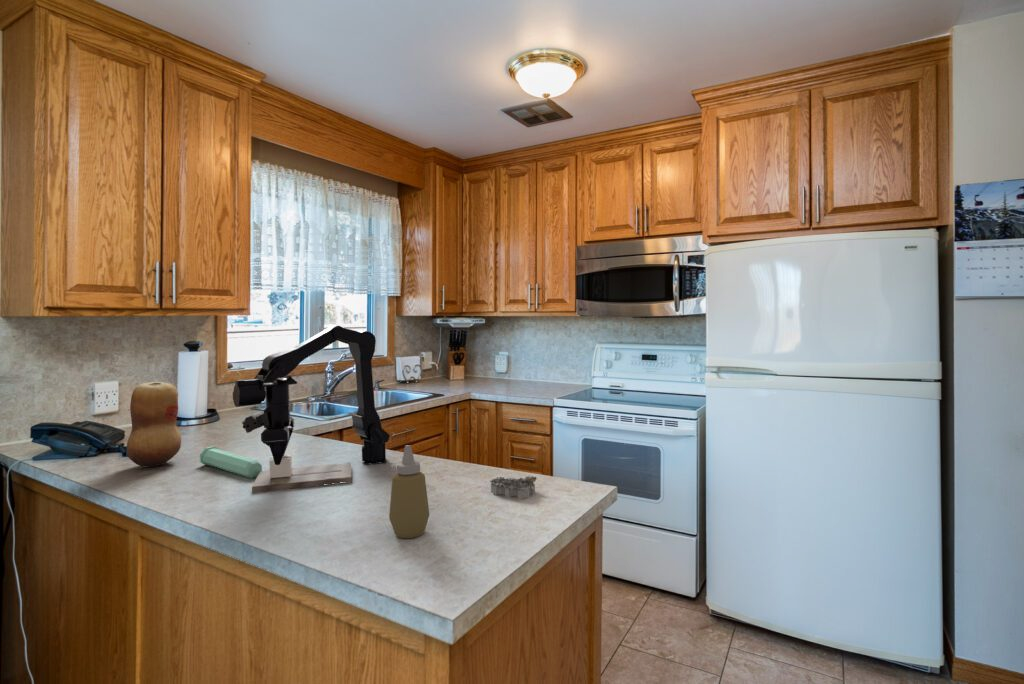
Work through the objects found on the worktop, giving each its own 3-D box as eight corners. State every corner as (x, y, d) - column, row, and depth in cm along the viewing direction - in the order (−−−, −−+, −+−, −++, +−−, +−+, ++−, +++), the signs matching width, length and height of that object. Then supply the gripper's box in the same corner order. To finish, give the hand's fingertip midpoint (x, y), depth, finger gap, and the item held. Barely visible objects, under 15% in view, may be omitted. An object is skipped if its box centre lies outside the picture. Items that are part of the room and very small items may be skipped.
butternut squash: (162, 471, 151) (158, 385, 150) (116, 472, 151) (112, 386, 150) (192, 458, 165) (189, 379, 164) (150, 458, 165) (146, 379, 164)
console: (351, 467, 153) (350, 462, 153) (351, 482, 140) (351, 476, 140) (260, 476, 146) (260, 470, 146) (252, 492, 133) (251, 486, 132)
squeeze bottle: (392, 526, 111) (390, 441, 110) (431, 524, 111) (429, 440, 110) (386, 542, 102) (384, 451, 102) (428, 540, 103) (426, 450, 102)
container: (261, 455, 146) (214, 442, 160) (242, 468, 142) (195, 453, 155) (269, 472, 148) (222, 458, 162) (251, 485, 144) (204, 469, 157)
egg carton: (538, 492, 131) (538, 476, 131) (524, 502, 125) (524, 485, 124) (502, 486, 136) (502, 470, 136) (486, 494, 130) (486, 478, 130)
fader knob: (292, 472, 144) (291, 454, 143) (290, 476, 140) (289, 458, 140) (272, 473, 142) (271, 456, 142) (270, 478, 138) (269, 460, 138)
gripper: (250, 398, 146) (252, 454, 147) (237, 410, 128) (239, 473, 129) (293, 396, 150) (295, 450, 150) (286, 407, 132) (288, 468, 133)
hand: (279, 460), depth 141 cm, fingers open, 9 cm apart
